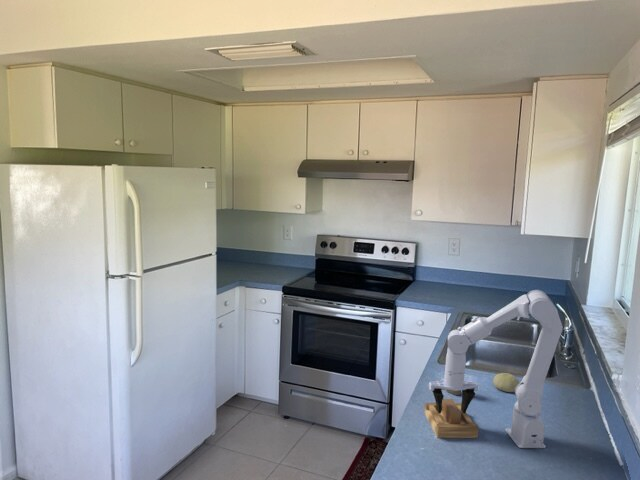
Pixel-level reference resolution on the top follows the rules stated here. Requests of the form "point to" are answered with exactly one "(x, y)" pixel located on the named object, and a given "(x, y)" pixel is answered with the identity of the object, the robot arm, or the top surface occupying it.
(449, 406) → the tan wooden post
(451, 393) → the stone
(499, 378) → the sea urchin shell
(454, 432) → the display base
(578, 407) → the top surface
